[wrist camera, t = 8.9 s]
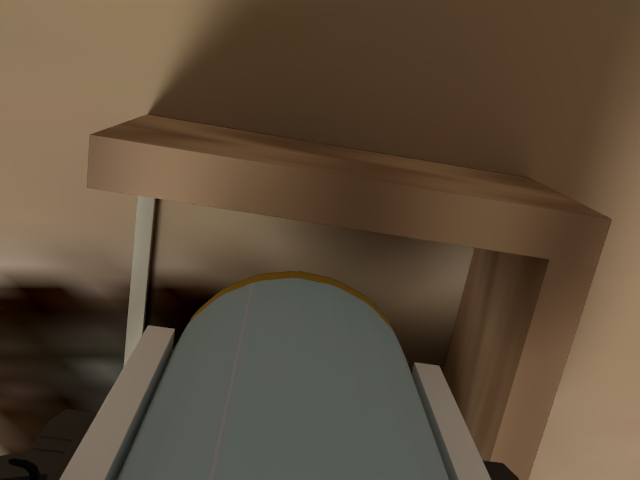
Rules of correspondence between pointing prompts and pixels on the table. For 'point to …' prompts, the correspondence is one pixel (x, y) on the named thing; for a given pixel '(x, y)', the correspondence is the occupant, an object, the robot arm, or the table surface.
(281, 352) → the bottle
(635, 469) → the table surface
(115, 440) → the robot arm
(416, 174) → the u rest
